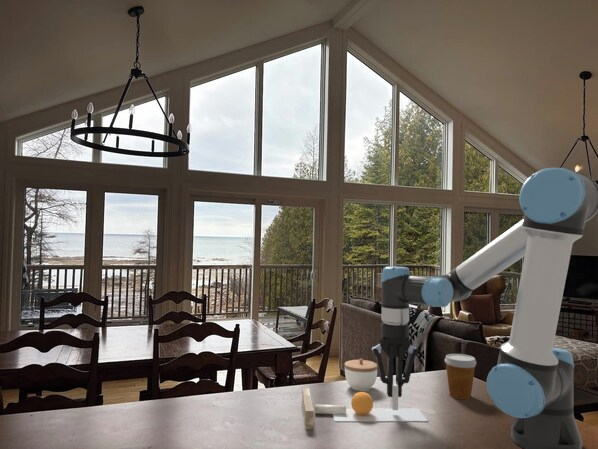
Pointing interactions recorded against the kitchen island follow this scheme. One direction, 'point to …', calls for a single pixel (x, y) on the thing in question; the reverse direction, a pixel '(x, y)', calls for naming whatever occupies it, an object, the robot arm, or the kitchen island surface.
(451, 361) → the disposable coffee cup
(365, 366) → the lidded jar
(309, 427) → the backstop
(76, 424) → the kitchen island surface
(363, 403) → the ball
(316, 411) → the pin
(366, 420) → the plate
